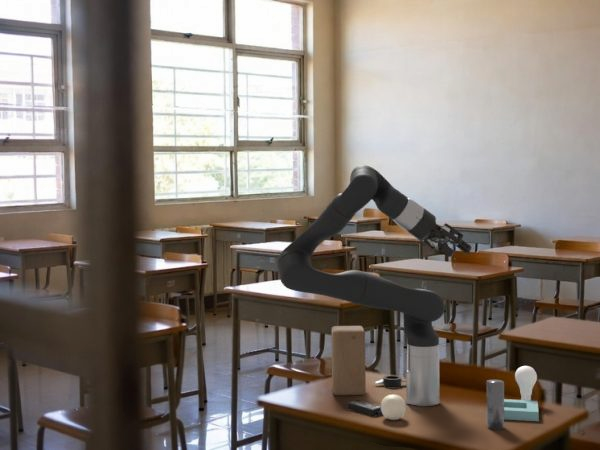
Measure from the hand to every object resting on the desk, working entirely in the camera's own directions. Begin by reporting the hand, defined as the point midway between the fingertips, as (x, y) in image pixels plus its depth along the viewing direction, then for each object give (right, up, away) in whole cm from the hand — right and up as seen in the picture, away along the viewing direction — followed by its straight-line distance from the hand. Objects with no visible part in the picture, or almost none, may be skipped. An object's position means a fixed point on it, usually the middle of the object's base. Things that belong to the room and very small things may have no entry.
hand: (460, 252), depth 210 cm
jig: (+17, -45, +9) cm, 49 cm away
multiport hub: (-24, -46, +14) cm, 54 cm away
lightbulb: (+23, -45, +20) cm, 54 cm away
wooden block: (-27, -45, +37) cm, 64 cm away
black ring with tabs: (-13, -45, +44) cm, 64 cm away
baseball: (-17, -46, +6) cm, 49 cm away
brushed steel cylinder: (+8, -46, -3) cm, 46 cm away
